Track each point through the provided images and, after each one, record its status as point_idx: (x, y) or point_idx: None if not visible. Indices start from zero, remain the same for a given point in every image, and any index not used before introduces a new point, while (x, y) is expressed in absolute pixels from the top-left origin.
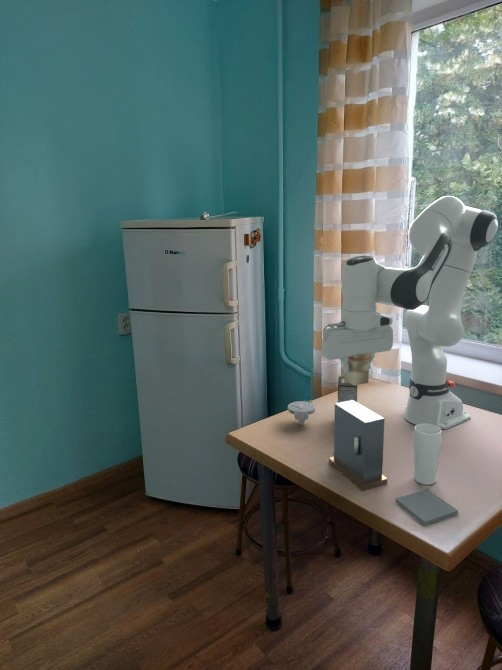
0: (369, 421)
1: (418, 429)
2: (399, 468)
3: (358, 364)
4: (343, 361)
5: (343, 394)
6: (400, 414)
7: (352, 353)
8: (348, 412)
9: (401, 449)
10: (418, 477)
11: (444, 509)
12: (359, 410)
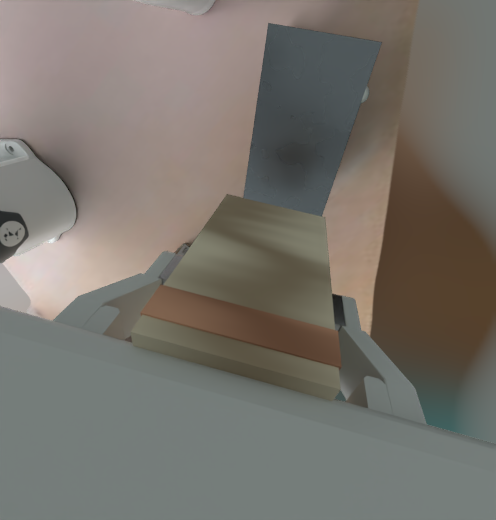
0: (353, 40)
1: None
2: (208, 74)
3: (290, 294)
4: (405, 388)
5: None
6: (75, 234)
7: (362, 442)
8: (333, 179)
9: (151, 137)
10: None
11: None
12: (288, 164)
